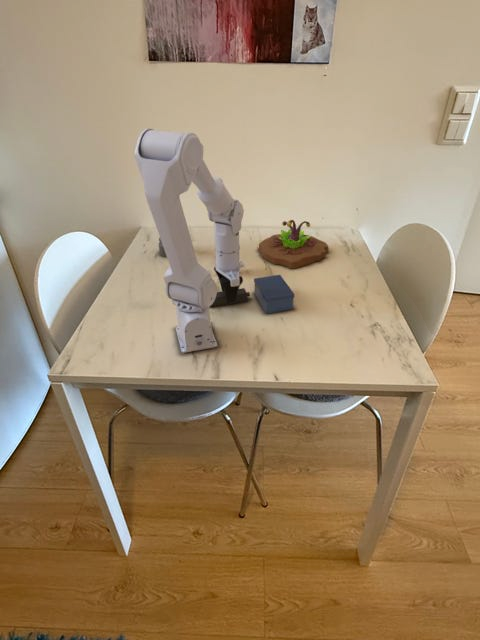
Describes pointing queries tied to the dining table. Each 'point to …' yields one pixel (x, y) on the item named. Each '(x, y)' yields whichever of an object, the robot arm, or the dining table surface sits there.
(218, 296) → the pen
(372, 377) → the dining table surface
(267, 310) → the blue box
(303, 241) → the plant
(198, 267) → the robot arm
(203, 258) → the dining table surface
